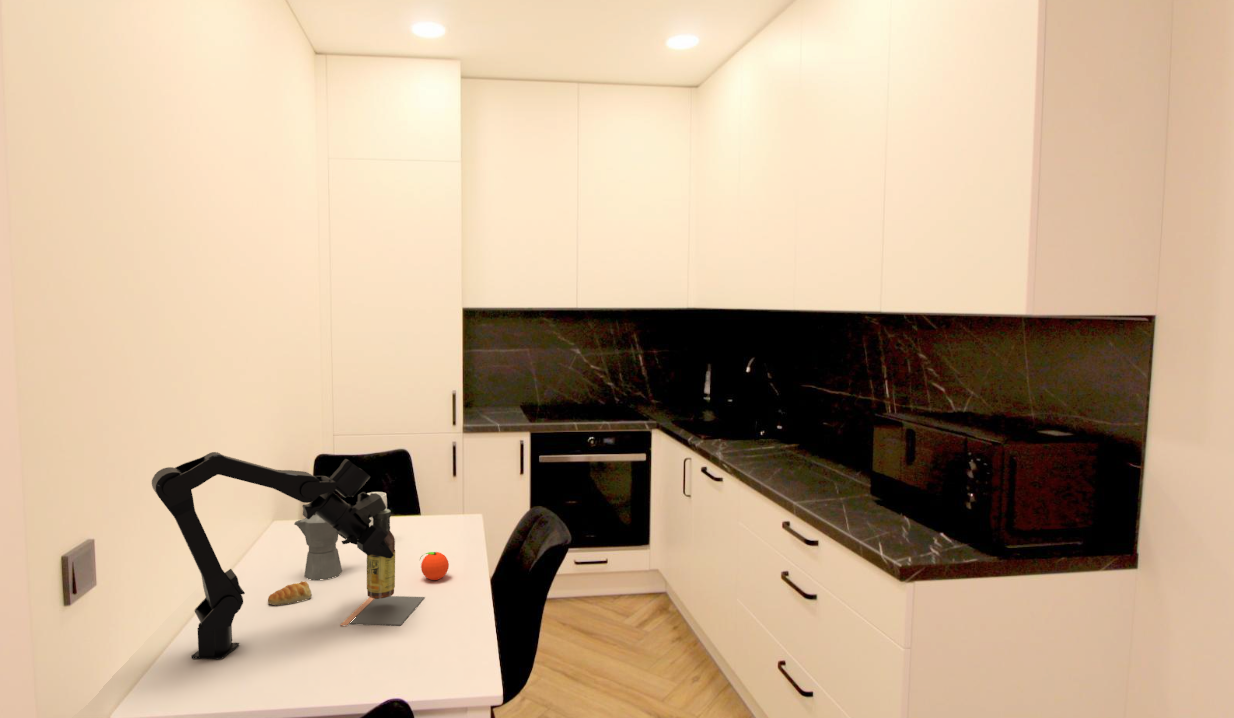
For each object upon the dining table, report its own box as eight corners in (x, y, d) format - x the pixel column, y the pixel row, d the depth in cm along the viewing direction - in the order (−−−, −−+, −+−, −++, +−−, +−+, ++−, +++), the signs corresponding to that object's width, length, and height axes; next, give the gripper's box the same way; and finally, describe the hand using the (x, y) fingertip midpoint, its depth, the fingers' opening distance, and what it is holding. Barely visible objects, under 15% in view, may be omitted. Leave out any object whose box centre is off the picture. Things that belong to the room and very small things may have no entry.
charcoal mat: (400, 625, 167) (400, 624, 167) (349, 624, 168) (349, 623, 168) (424, 598, 183) (424, 596, 183) (377, 597, 184) (377, 595, 184)
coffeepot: (297, 584, 193) (294, 514, 191) (295, 573, 201) (292, 505, 200) (361, 574, 199) (359, 507, 198) (356, 564, 208) (354, 499, 207)
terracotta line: (346, 626, 167) (346, 624, 167) (340, 626, 167) (340, 624, 167) (390, 583, 193) (390, 582, 193) (385, 583, 193) (384, 582, 193)
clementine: (412, 582, 194) (411, 554, 193) (426, 572, 201) (426, 546, 200) (440, 585, 192) (439, 557, 191) (454, 575, 198) (453, 549, 198)
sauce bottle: (362, 594, 176) (361, 509, 175) (388, 588, 180) (387, 505, 179) (374, 602, 171) (372, 515, 170) (400, 596, 175) (399, 510, 174)
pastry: (273, 610, 177) (273, 594, 177) (263, 602, 182) (262, 587, 181) (314, 599, 183) (313, 583, 183) (303, 592, 188) (302, 577, 188)
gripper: (378, 492, 164) (426, 533, 171) (348, 477, 179) (395, 516, 186) (341, 534, 160) (393, 575, 167) (314, 515, 174) (363, 554, 182)
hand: (386, 553), depth 176 cm, fingers closed on sauce bottle, 6 cm apart
